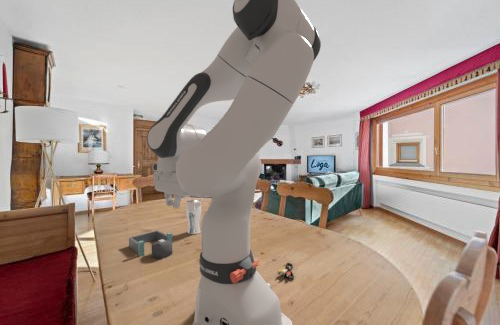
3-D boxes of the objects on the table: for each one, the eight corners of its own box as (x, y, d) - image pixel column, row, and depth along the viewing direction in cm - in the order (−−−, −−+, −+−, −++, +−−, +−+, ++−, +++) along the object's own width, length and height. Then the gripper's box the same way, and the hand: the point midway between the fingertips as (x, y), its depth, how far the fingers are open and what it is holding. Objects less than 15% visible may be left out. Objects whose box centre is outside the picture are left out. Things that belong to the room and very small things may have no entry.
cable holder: (172, 245, 86) (172, 233, 86) (139, 256, 77) (139, 242, 76) (158, 237, 94) (158, 226, 94) (127, 246, 85) (127, 234, 85)
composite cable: (286, 264, 72) (286, 257, 71) (300, 268, 69) (300, 260, 69) (275, 279, 63) (275, 271, 63) (291, 284, 61) (291, 275, 61)
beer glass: (186, 235, 96) (185, 202, 96) (186, 230, 103) (186, 199, 103) (201, 234, 98) (201, 202, 98) (201, 229, 105) (200, 199, 104)
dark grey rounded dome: (175, 254, 79) (175, 240, 79) (157, 261, 74) (156, 246, 73) (166, 248, 83) (166, 235, 83) (148, 254, 78) (148, 240, 78)
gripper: (198, 166, 67) (198, 210, 67) (167, 164, 81) (167, 200, 81) (179, 167, 62) (180, 214, 63) (150, 165, 76) (150, 203, 77)
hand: (173, 206), depth 72 cm, fingers open, 3 cm apart
